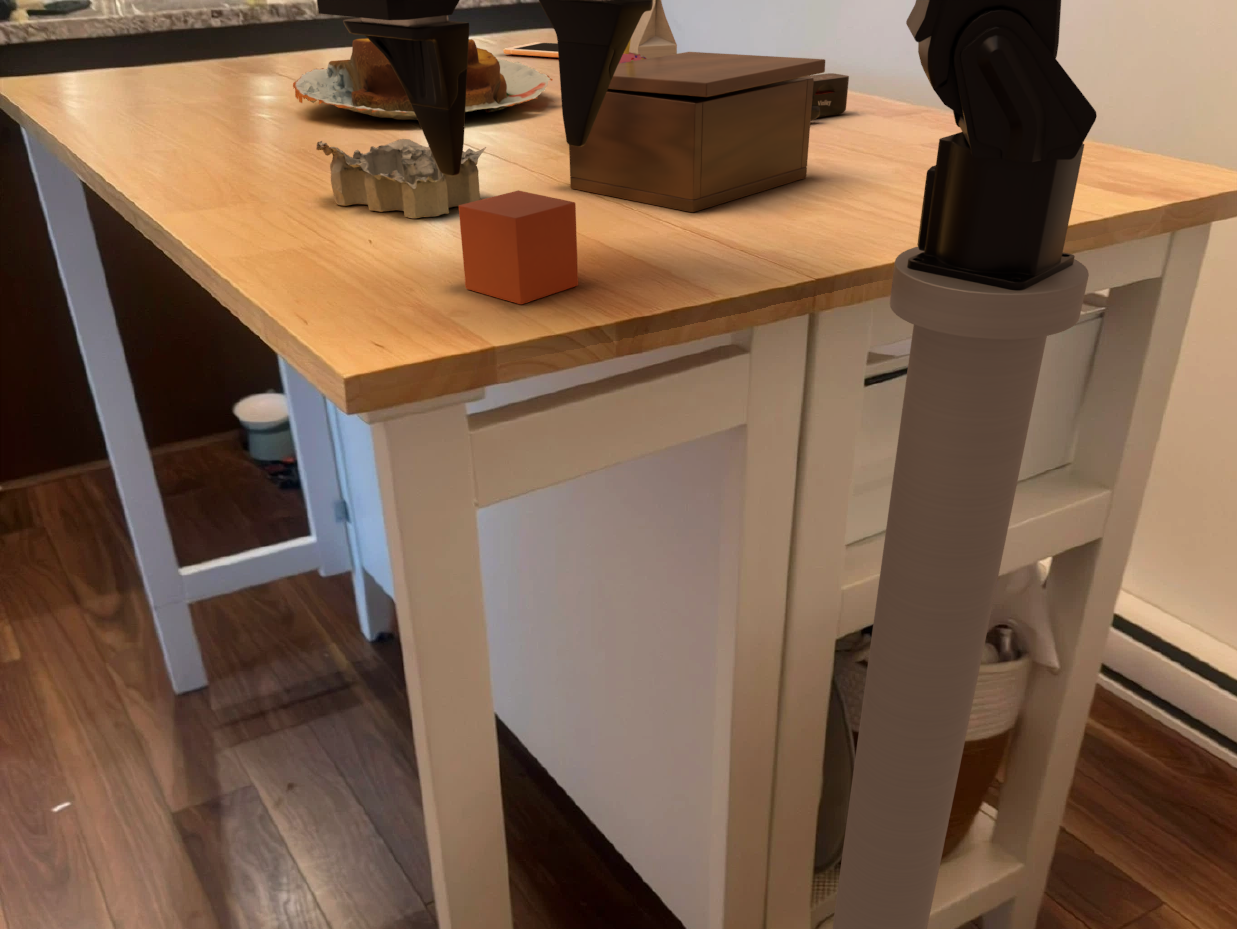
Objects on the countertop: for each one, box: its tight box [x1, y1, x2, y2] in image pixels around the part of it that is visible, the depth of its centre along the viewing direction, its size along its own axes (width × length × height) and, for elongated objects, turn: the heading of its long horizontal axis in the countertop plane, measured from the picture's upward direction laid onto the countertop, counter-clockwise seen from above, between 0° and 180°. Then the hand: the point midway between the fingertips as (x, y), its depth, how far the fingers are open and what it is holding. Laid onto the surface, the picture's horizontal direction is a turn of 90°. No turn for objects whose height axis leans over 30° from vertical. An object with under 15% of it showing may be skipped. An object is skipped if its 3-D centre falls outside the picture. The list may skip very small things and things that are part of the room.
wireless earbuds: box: [805, 72, 850, 121], centre depth 106 cm, size 5×7×3 cm, turn 123°
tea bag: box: [629, 0, 678, 59], centre depth 108 cm, size 4×7×10 cm, turn 12°
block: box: [458, 190, 579, 305], centre depth 63 cm, size 4×4×4 cm
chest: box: [568, 77, 814, 213], centre depth 83 cm, size 12×14×7 cm
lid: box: [608, 51, 826, 97], centre depth 81 cm, size 12×14×1 cm
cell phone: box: [503, 41, 559, 58], centre depth 145 cm, size 8×16×1 cm, turn 59°
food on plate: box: [292, 37, 555, 121], centre depth 113 cm, size 25×25×7 cm
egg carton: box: [316, 138, 487, 219], centre depth 80 cm, size 11×8×4 cm
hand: (515, 159), depth 60 cm, fingers open, 9 cm apart
